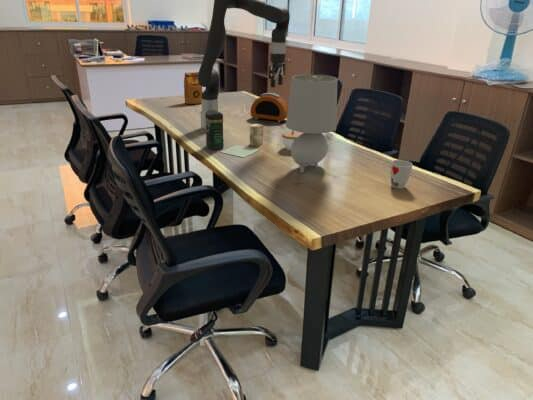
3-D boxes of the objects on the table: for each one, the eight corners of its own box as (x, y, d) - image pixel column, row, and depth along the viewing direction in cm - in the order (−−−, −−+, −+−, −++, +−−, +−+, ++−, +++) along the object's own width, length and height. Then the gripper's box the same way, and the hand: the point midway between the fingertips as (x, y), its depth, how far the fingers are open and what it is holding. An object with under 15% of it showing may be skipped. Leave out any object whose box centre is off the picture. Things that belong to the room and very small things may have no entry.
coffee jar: (225, 149, 209) (225, 112, 201) (210, 151, 206) (209, 113, 198) (219, 143, 217) (218, 108, 209) (204, 145, 214) (203, 109, 206)
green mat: (220, 152, 204) (220, 151, 204) (236, 145, 215) (236, 144, 215) (243, 157, 198) (243, 157, 198) (259, 150, 209) (259, 149, 209)
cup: (385, 182, 175) (388, 159, 171) (403, 182, 176) (407, 159, 171) (392, 190, 168) (396, 166, 163) (411, 190, 168) (416, 166, 164)
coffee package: (204, 104, 302) (203, 72, 293) (188, 105, 296) (186, 73, 287) (199, 101, 310) (198, 70, 300) (183, 102, 304) (181, 71, 295)
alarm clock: (249, 119, 266) (250, 92, 259) (255, 116, 274) (255, 90, 267) (284, 123, 259) (285, 96, 252) (289, 120, 266) (290, 93, 259)
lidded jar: (285, 152, 207) (286, 134, 203) (278, 146, 216) (279, 128, 212) (305, 151, 209) (306, 133, 206) (298, 145, 219) (299, 127, 215)
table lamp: (318, 181, 174) (326, 83, 157) (273, 170, 184) (277, 77, 167) (339, 166, 191) (349, 76, 175) (298, 156, 202) (303, 71, 185)
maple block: (249, 144, 218) (249, 125, 213) (254, 142, 221) (255, 123, 217) (257, 146, 215) (258, 127, 211) (262, 143, 219) (263, 125, 215)
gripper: (277, 50, 211) (276, 83, 218) (264, 52, 199) (263, 87, 206) (291, 51, 208) (289, 84, 215) (278, 54, 196) (277, 89, 203)
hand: (276, 86), depth 210 cm, fingers open, 8 cm apart
